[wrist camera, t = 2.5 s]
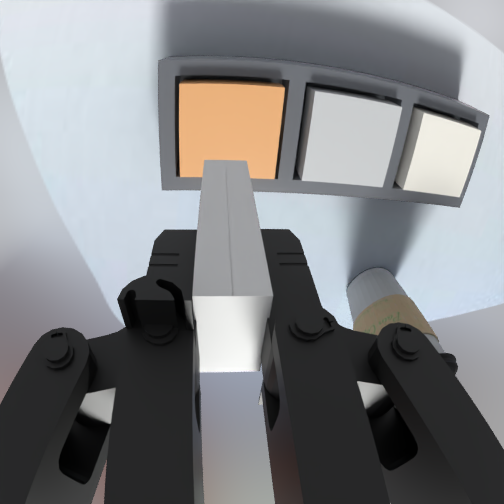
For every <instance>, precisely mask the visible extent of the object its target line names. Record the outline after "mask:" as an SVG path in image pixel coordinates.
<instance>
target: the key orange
mask: <svg viewBox="0 0 504 504" xmlns="http://www.w3.org/2000/svg"><path fill="white" fill-rule="evenodd" d="M284 93H285V87H284V86H282V85H281V84H280V83H273V82H260V81H244V80H213V79H188V80H183V81H182V82H181V83H180V84H179V157H180V177H202V176H203V167H204V160H243V161H247V164H248V169H249V174H250V178H257V179H275V171H276V162H277V154H278V145H279V137H280V128H281V119H282V111H283V102H284Z"/></svg>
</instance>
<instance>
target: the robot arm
mask: <svg viewBox="0 0 504 504" xmlns="http://www.w3.org/2000/svg"><path fill="white" fill-rule="evenodd" d="M117 300H118V304H119V307H120V310H121V313H122V317H123V320H124V323H125V326H126V327H125V328H123V329H121V330H120V331H118V332H115V333H112V334H109V335H105V336H101V337H97V338H92V339H88V340H86V339H85V337H84V336H83V334H82V333H80V332H78V331H77V330H75V329H72V328H64V327H62V328H58V329H53V330H51V331H49V332H47V333H46V334H44V335H42V336H41V338H40V339H39V340H38V341H37V342H36V343H35V344H34V346H33V348H32V350H31V351H30V353H29V354H28V356H27V358H26V359H25V361H24V363H23V364H22V366H21V368H20V369H19V371H18V373H17V375H16V377H15V378H14V380H13V382H12V384H11V385H10V387H9V389H8V391H7V393H6V395H5V397H4V398H3V400H2V402H1V404H0V504H91V503H92V500H93V497H94V494H95V491H96V488H97V485H98V482H99V480H100V477H101V474H102V471H103V468H104V465H105V463H106V460H107V467H106V481H105V497H104V499H105V500H104V504H204V493H203V492H204V491H203V468H202V439H201V438H202V437H201V392H200V372H245V371H260V367H261V364H262V371H263V383H262V387H261V392H260V397H259V405H262V404H263V409H264V416H265V425H266V434H267V442H268V450H269V458H270V466H271V474H272V482H273V490H274V498H275V504H390V503H391V504H504V449H503V448H502V446H501V445H500V443H499V441H498V440H497V438H496V437H495V435H494V433H493V431H492V430H491V428H490V427H489V425H488V424H487V422H486V421H485V419H484V417H483V416H482V415H481V413H480V411H479V410H478V408H477V407H476V405H475V404H474V403H473V401H472V400H471V398H470V396H469V395H468V393H467V392H466V391H465V389H464V388H463V386H462V385H461V383H460V382H459V380H458V379H457V378H456V377H455V375H454V373H453V372H452V371H451V369H450V368H449V366H448V365H447V364H446V362H445V361H444V359H443V358H442V357H441V355H440V354H439V353H438V351H437V350H436V349H435V347H434V346H433V345H432V343H431V342H430V341H429V339H428V338H427V337H426V336H425V335H424V334H423V333H422V332H421V331H420V330H419V329H417V328H415V327H413V326H412V325H410V324H405V323H400V322H397V323H390V324H388V325H386V326H385V327H383V328H382V329H381V331H380V333H379V334H378V335H374V334H369V333H364V332H359V331H354V330H351V329H347V328H344V327H342V326H341V325H339V324H338V323H337V321H336V319H335V318H334V316H333V315H331V314H330V313H329V312H328V311H327V310H325V309H323V308H322V306H321V303H320V300H319V297H318V294H317V290H316V287H315V284H314V281H313V278H312V275H311V272H310V269H309V266H307V260H306V257H305V255H304V251H303V249H302V246H301V243H300V240H299V239H298V238H297V237H296V236H295V235H294V234H293V233H292V232H291V231H290V230H288V229H260V225H259V220H258V215H257V209H256V204H255V199H254V194H253V189H252V184H251V179H250V174H249V169H248V164H247V161H243V160H204V167H203V176H202V185H201V195H200V205H199V216H198V227H197V230H164V231H163V232H162V233H161V234H160V235H159V236H158V237H157V239H156V240H155V241H154V245H153V249H152V256H151V258H150V262H149V267H148V270H147V275H146V276H143V277H141V278H138V279H136V280H133V281H132V282H130V283H129V284H128V285H127V286H126V287H124V288H123V289H122V291H121V293H120V295H119V297H118V299H117Z"/></svg>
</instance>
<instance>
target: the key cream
mask: <svg viewBox="0 0 504 504" xmlns="http://www.w3.org/2000/svg"><path fill="white" fill-rule="evenodd" d="M480 134H481V130H479V129H477V128H476V127H474V126H472V125H470V124H469V123H467V122H464V121H461V120H458V119H455V118H452V117H449V116H445V115H442V114H439V113H435V112H432V111H429V110H425V109H421V108H418V107H414V106H413V109H412V113H411V118H410V122H409V127H408V131H407V135H406V139H405V143H404V147H403V151H402V154H401V158H400V162H399V166H398V169H397V173H396V176H395V180H394V181H395V182H396V183H397V184H398V185H399V186H400V187H401V188H402V189H403V190H409V191H417V192H425V193H433V194H440V195H447V196H454V197H460V195H461V192H462V190H463V187H464V184H465V181H466V179H467V176H468V173H469V170H470V167H471V164H472V161H473V158H474V154H475V151H476V148H477V145H478V141H479V138H480Z"/></svg>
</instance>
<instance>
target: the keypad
mask: <svg viewBox="0 0 504 504" xmlns="http://www.w3.org/2000/svg"><path fill="white" fill-rule="evenodd" d="M188 79H213V80H244V81H260V82H273V83H280V84H281V85H282V86H284V87H285V93H284V102H283V111H282V119H281V128H280V137H279V145H278V154H277V162H276V171H275V179H257V178H250V179H251V184H252V189H253V191H256V192H281V193H302V194H320V195H335V196H349V197H362V198H374V199H386V200H396V201H406V202H416V203H425V204H434V205H443V206H451V207H459V208H460V205H461V203H462V200H463V197H464V195H465V192H466V189H467V187H468V184H469V181H470V178H471V175H472V172H473V169H474V167H475V163H476V160H477V157H478V154H479V151H480V148H481V144H482V141H483V138H484V134H485V130H486V127H487V123H488V119H489V115H488V114H486V113H484V112H482V111H480V110H478V109H476V108H474V107H472V106H470V105H467V104H465V103H463V102H461V101H459V100H456V99H453V98H451V97H448V96H445V95H442V94H439V93H436V92H433V91H430V90H426V89H423V88H420V87H417V86H413V85H410V84H406V83H402V82H399V81H395V80H391V79H387V78H383V77H379V76H375V75H370V74H366V73H361V72H356V71H352V70H346V69H341V68H335V67H330V66H324V65H317V64H310V63H303V62H295V61H286V60H277V59H266V58H252V57H233V56H172V57H168V58H165V59H162V60H159V61H158V108H159V144H160V165H161V182H162V190H201V185H202V177H180V157H179V84H180V83H181V82H182V81H183V80H188ZM307 86H311V87H318V88H325V89H332V90H338V91H344V92H350V93H355V94H361V95H366V96H371V97H376V98H380V99H385V100H389V101H391V102H393V103H395V104H397V105H399V106H401V107H402V111H401V116H400V120H399V125H398V129H397V133H396V138H395V142H394V146H393V150H392V154H391V158H390V162H389V165H388V169H387V173H386V177H385V180H384V184H383V187H373V186H363V185H352V184H341V183H328V182H314V181H302V180H301V178H300V176H299V174H298V172H297V170H296V164H297V157H298V150H299V143H300V136H301V129H302V122H303V114H304V107H305V99H306V92H307ZM413 106H414V107H418V108H421V109H425V110H429V111H432V112H435V113H439V114H442V115H445V116H449V117H452V118H455V119H458V120H461V121H464V122H467V123H469V124H470V125H472V126H474V127H476V128H477V129H479V130H481V134H480V138H479V141H478V145H477V148H476V151H475V154H474V158H473V161H472V164H471V167H470V170H469V173H468V176H467V179H466V181H465V184H464V187H463V190H462V192H461V195H460V197H454V196H447V195H440V194H433V193H425V192H417V191H409V190H403V189H402V188H401V187H400V186H399V185H398V184H397V183H396V182H395V181H394V180H395V176H396V173H397V169H398V166H399V162H400V158H401V154H402V151H403V147H404V143H405V139H406V135H407V131H408V127H409V122H410V118H411V113H412V109H413Z"/></svg>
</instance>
